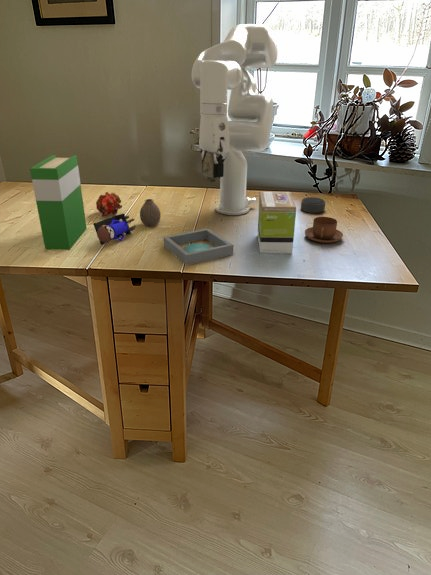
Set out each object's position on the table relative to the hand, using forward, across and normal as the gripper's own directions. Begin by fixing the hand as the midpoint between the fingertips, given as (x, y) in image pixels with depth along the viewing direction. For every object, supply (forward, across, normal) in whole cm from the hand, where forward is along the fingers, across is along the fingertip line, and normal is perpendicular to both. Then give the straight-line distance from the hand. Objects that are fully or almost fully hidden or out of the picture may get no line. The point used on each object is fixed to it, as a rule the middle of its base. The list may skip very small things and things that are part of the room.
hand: (212, 174), depth 131 cm
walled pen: (+21, -6, +8) cm, 23 cm away
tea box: (+20, -14, -15) cm, 29 cm away
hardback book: (+21, +22, +40) cm, 50 cm away
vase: (+20, +21, +12) cm, 31 cm away
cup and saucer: (+20, -17, -32) cm, 41 cm away
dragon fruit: (+20, +38, +21) cm, 48 cm away
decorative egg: (+3, 0, 0) cm, 3 cm away
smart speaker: (+19, +6, -48) cm, 52 cm away
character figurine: (+21, +13, +27) cm, 37 cm away
